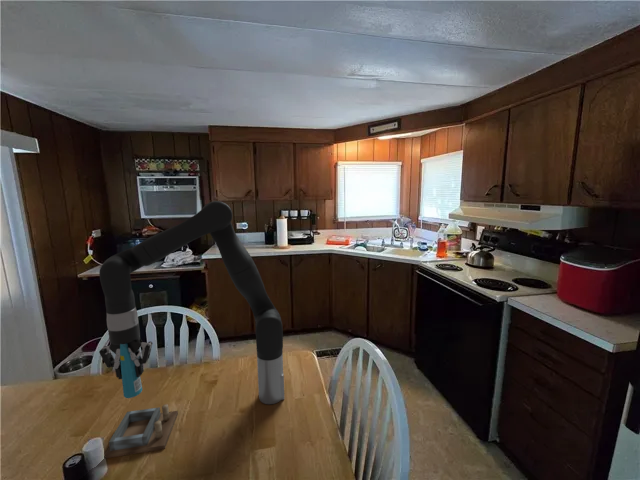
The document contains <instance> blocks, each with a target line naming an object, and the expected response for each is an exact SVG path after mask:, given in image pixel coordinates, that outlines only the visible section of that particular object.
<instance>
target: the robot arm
mask: <svg viewBox="0 0 640 480" xmlns="http://www.w3.org/2000/svg"><path fill="white" fill-rule="evenodd" d="M233 217H234V216H233V211H232V209H231V207H230V206H229V205H228V204H227V203H225V202H223V201H219V200H213V201H209V202H208V203H206V204H205V205H204V206H203V207H202V208H201V210H199V211H198V212H197V213H195V214H194V215H192V216H191V217H189V218H188V219H186V220H185V221H183V222H181V223H178V224H177V225H174V226H172V227H170V228H168V229H166V230H165V229H164V230H163V231H161V232H158V233H157V234H155V235H153V236H150V237H149V238H146V239H145V240H143V241H141V242H140V243H137V244H136V245H135V246H132V247H130V248H128V249H125V250H122V251H120V252H117V253H116V254H113V255H112V256H110V257H108V258H107V259H106V260H104V261H103V263H102V265H101V266H100V268H99V272H98V273H99V275H98V276H99V281H100V285H101V289H102V292H103V295H104V302H105V309H106V310H105V311H106V326H107V331H108V340H109V343H110V344H109V345H104V346H103V347H101V349H100V350H99V352H98V353H99V355H100V357H101V359H102V360H103V362H104V363H105V366H106V367H107V368H113V369H114V370H115V376H116V378H117V379H118V380H122V374H121V361H120V344H126V343H127V344H128V348H127V349H128V352H129V354H130V357H131V360H132V361H134V363H135V365H136V367H135V368H136V376H137V377H140V378H141V376H142V375H143V373H144V371H145V370H144V365H145V364H147V362H148V361H149V359H150V355H151V351H152V347H153V342H152V341H148V342H143V340H142V339H141V331H140V323H139V316H138V310H137V307H136V306H137V305H136V300H135V293H134V291H133V289H132V280H131V279H132V278H131V274H132V273H133V272H136V271H137V270H139V269H141V268H144V267H147V266H151V265H153V264H155V263H156V262H159V261H160V260H163V259H164V258H165V257H168V256H169V255H172V254H173V253H175V251H177V250H179V249H181V248H182V247H185V246H186V245H187V244H189V243H191V242H194V241H195V240H197V239H199V238H201V237H203V236H206V235H208V234H210V237H212V239H213V241H214V243H215V244H216V246H217V247H216V248H217V249H218V251H219V254H220V257H221V259H222V262H223V264H224V266H225V268H226V270H227V273H228V275H229V277H230V279H231V281H232V283H233V284H234V287H235V288H236V290H237V291H238V292H239V294H241V296H242V297H243V299H245V300H246V302H247V303H248V305H249V307H250V309H251V311H252V314H253V317H254V321H255V343H256V345H255V347H256V363H257V384H258V399H259V401H260V402H261V403H262V404H265V405H274V404H277V403H279V402H280V401H283V400H285V376H284V360H283V359H284V358H283V357H284V354H283V349H284V331H283V330H284V329H283V322H282V317H281V314H280V313H279V310H278V309H277V308H276V307H275V305H274V303H273V302H272V300H271V299H270V297H269V294H268V293H267V290H266V288H265V284H264V282H263V280H262V276H261V274H260V272H259V270H258V268H257V265H256V264H255V261H254V259H253V258H252V256H251V254H250V253H249V251H248V250H247V248H246V247H245V246H244V244H243V243H242V242H241V240H240V239H239V237H238V235H237V234H236V231H235V229H234V227H233V224H232V221H233ZM140 348H142V351H144V352H143V354H141V353H142V352H141V350H140ZM112 352H113V353H112ZM113 354H115V357H114V356H113ZM142 355H143V356H142Z"/></svg>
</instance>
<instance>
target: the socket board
mask: <svg viewBox="0 0 640 480" xmlns="http://www.w3.org/2000/svg"><path fill="white" fill-rule="evenodd" d="M161 411H162V412H161ZM178 415H179V414H178V410H173V411H170V410H169V404H168V403H167V404H166V403H165V404H163V405H162V406H161V407H154V408H153V407H152V408H144V409H139V410H138V409H137V410H131V411H127V412H126V413H125V415H123V418H122V419H121V421H120V422H119V424H118V425H117V426H118V427H117V428H116V430H115V432H114V433H113V435H112V436H111V438H110V440H109V441H108V445H109V446H108V448H106V449H107V450H106V451H105V453H104V454H105V456H106V458H105V459H109V458H115V457H116V458H117V457H123V456H128V455H134V454H140V453H141V454H142V453H147V452H153V451H159V450H160V451H161V450H164V449H166V447H167V444H168V441H169V439H170V436H171V433H172V430H173V428H174V425H175V422H176V420H177V418H178ZM105 456H104V457H105Z"/></svg>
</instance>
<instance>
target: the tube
mask: <svg viewBox="0 0 640 480" xmlns="http://www.w3.org/2000/svg"><path fill="white" fill-rule="evenodd" d="M127 348H128V344H127V343H126V344H120V361H121V374H122V379H121V383H122V393H123V397H124V398H125V399H132V398H135V397H137V396H139V395H140V394H141V393H142V391H143V385H142V380H141V376H140V377H137V376H136V368H135V367H136V365H135V363H134V361H132V360H131V357H130V354H129V352H128V349H127Z"/></svg>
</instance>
